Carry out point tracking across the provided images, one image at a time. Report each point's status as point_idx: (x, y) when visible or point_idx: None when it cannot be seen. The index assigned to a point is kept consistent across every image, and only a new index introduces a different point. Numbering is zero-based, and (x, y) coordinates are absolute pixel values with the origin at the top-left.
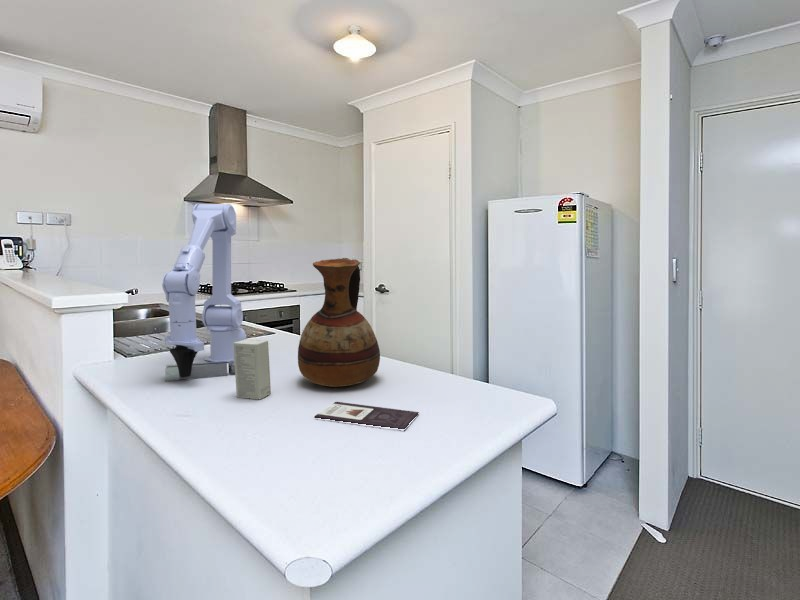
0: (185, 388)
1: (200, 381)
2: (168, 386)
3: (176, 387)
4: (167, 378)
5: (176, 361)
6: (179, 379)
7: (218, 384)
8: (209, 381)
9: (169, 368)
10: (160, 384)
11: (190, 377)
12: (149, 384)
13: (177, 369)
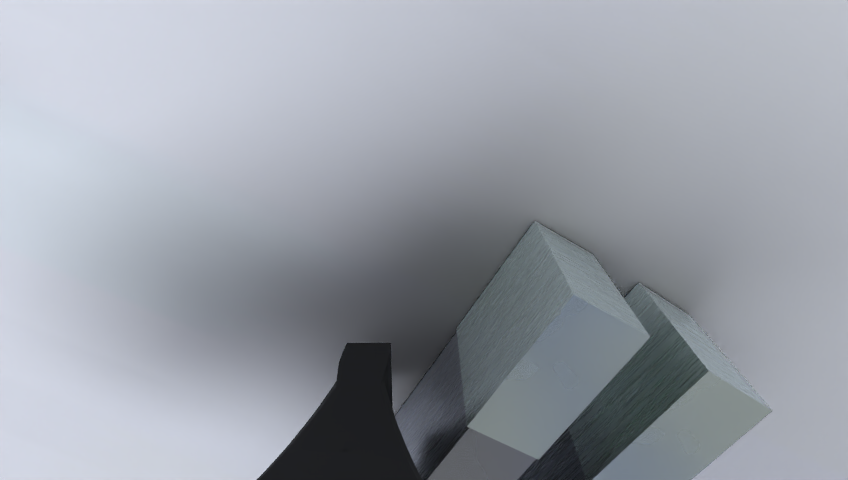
0: (89, 223)
1: (250, 418)
2: (306, 144)
3: (197, 181)
4: (529, 253)
5: (382, 477)
6: (455, 334)
7: (34, 458)
8: (190, 459)
9: (553, 350)
10: (465, 125)
11: (403, 417)
12: (582, 35)
13: (474, 402)
